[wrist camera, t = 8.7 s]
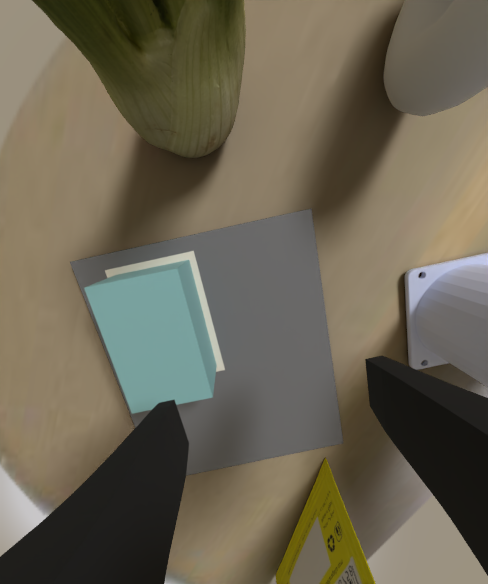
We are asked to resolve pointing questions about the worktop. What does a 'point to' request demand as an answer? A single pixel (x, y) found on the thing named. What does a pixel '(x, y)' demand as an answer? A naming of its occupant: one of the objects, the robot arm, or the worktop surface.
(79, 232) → the worktop surface
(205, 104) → the fennel bulb
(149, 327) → the card box
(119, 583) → the robot arm
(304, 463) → the worktop surface
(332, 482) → the food package
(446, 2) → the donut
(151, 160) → the worktop surface
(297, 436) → the mat
